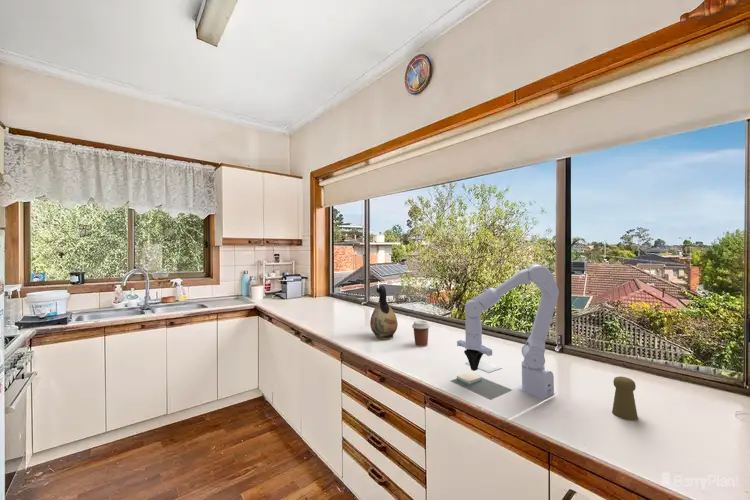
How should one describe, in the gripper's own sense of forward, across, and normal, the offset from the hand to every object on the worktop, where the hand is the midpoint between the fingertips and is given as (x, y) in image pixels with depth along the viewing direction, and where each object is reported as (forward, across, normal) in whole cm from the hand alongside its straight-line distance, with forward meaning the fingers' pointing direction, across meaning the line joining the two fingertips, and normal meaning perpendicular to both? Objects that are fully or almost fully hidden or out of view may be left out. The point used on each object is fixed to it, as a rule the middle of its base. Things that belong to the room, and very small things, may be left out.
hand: (474, 369), depth 117 cm
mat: (+5, +2, 0) cm, 6 cm away
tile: (+4, +1, 0) cm, 4 cm away
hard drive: (+6, -9, +16) cm, 19 cm away
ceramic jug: (+6, -68, +7) cm, 69 cm away
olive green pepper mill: (+6, +40, +19) cm, 44 cm away
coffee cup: (+6, -46, +15) cm, 49 cm away
